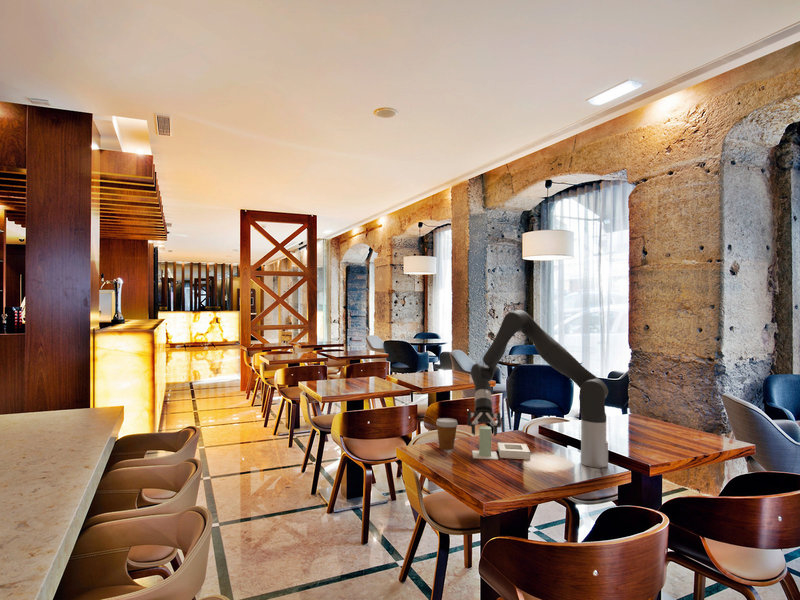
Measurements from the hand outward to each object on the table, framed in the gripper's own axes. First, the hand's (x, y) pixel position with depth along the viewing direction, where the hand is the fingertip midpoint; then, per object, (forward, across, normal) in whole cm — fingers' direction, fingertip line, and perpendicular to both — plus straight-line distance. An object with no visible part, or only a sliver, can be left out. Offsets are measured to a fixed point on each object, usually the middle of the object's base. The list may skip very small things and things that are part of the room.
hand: (484, 434), depth 194 cm
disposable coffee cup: (+2, -16, +10) cm, 19 cm away
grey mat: (+7, 0, +4) cm, 8 cm away
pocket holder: (+4, +12, +7) cm, 15 cm away
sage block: (+7, 0, +4) cm, 8 cm away
